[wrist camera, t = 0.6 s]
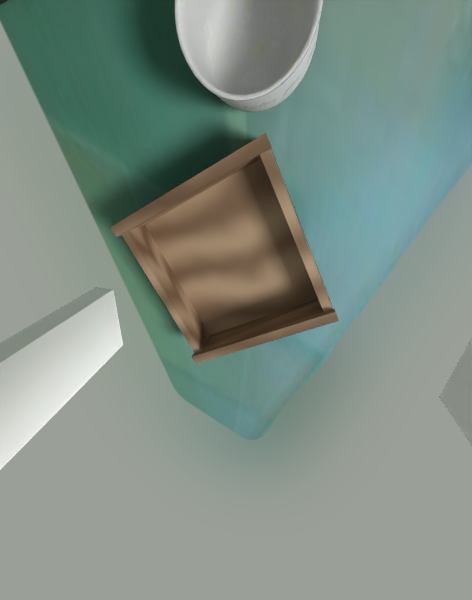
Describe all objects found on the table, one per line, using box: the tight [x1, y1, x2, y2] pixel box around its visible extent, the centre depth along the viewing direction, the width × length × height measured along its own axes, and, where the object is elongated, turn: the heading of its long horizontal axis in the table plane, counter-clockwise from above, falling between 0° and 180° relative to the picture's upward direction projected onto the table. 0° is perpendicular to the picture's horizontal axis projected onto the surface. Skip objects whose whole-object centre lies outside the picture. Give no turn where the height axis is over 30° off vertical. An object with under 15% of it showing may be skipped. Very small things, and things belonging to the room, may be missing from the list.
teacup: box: [175, 0, 323, 112], centre depth 21 cm, size 14×11×8 cm
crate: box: [110, 133, 339, 364], centre depth 32 cm, size 20×19×6 cm
